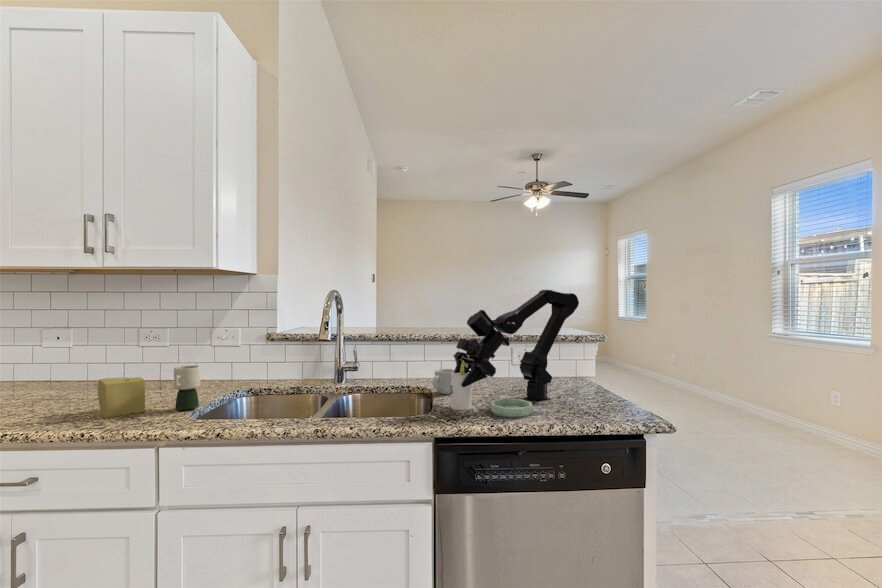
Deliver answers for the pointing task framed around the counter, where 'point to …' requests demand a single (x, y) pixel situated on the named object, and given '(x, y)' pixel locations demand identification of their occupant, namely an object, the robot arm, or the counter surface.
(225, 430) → the counter surface
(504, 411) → the dish
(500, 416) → the mat
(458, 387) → the candle
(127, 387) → the cheese
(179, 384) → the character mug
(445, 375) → the cup
